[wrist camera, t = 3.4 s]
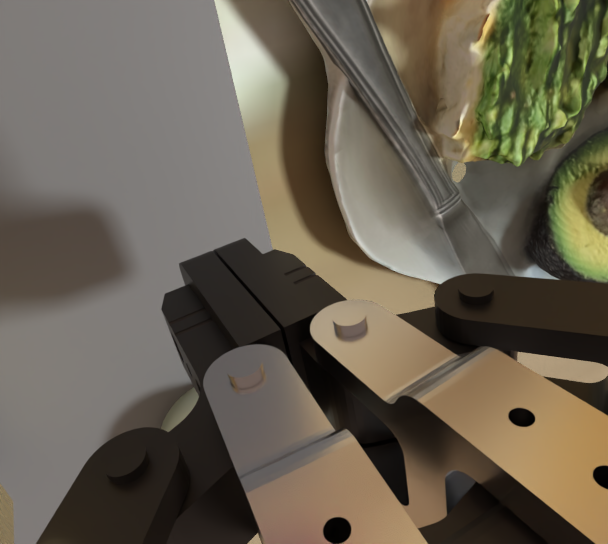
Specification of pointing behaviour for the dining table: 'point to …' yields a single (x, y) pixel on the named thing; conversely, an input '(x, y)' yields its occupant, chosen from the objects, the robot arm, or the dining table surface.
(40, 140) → the base
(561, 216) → the salad plate
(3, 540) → the tan elongated block
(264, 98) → the dining table surface
